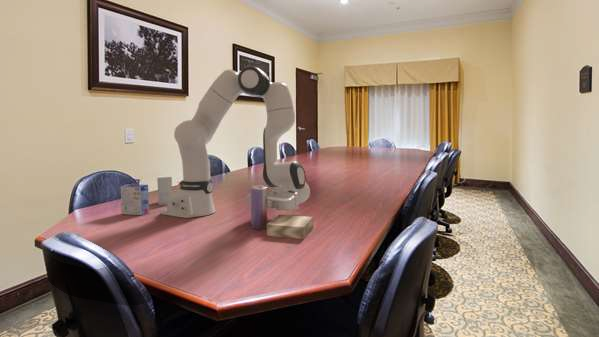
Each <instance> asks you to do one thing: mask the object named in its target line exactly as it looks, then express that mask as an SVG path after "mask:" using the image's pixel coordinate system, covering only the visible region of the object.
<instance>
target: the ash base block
mask: <svg viewBox="0 0 599 337" xmlns="http://www.w3.org/2000/svg"><path fill="white" fill-rule="evenodd" d="M313 229H314V217H313V216H304V215H288V214H287V215H286V214H279V215H277V216H276V217H274V218H273V219H271V221H269V222H267V226H266V236H268V237H276V238H278V237H279V238H287V239H300V240H304V239H305V238H306V237H307V236H308V235H309V234H310V232H311V231H312V230H313Z"/></svg>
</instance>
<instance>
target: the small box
mask: <svg viewBox="0 0 599 337" xmlns="http://www.w3.org/2000/svg"><path fill="white" fill-rule="evenodd" d="M156 178H157V180H156V182H157V202H158V206H167V201H168V199H169V198H170V197H171V196H172V195H173V182H172V181H173V180H172V174H164V175H163V174H160V175H157V176H156Z"/></svg>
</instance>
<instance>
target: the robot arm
mask: <svg viewBox="0 0 599 337" xmlns="http://www.w3.org/2000/svg"><path fill="white" fill-rule="evenodd" d="M242 94H245V95H249V97H255V98H262V99H263V102H264V105H265V111H266V118H267V119H266V125H265V126H264V129H263V131H262V132H263V133H262V146H263V147H262V148H263V150H262V151H263V169H262V180H263V182H264V183H265V185H266V186H267V187H268V188H269V187H270V188H272V189H271V190H270V193H269V192H268V202H267V208H270V209H275V210H277V211H292V210H298V208H299V205H300V204H303V203H304V202H306V201H307V199H309V197H310V194H311V190H310V186H309V185H308V183H307V182H306V171H305V169H304V166H302V164H301V163H300V162H298V161H296V160H295V161H286V162H278V149H277V148H278V141H279V139H280V138H281V137H282V136H283V135H285V134H286V133H287V132H289V131H290V130H291V129H292V127H293V126H294V124H295V122H296V121H295V120H296V115H295V109H294V102H293V99H292V95H291V92H290V89H289V87H288V85H287V84H286V83H283V82H282V81H281V82H280V81H275V82H272V81H271V78H270V77H269V75H268V74H267V73H266V72H265V71H264V70H263V69H260V68H259V67H256V66H253V65H252V66H251V65H250V66H249V65H248V66H246V67H244V68H242V69H241V70H240V72H239V73H238V71H236V70H234V69H233V70H232V69H225V70H223V71H222V73H220V75H218V76H217V78H215V80H213V82H212V84H211V85H210V87H209V88H207V91H206V92H205V93H204V95H203V97H202V98H201V100H200V101H199V103H198V107H197V109H196V112H195V114H194V115H193V118H192V119H190V120H189V119H187V120H183V121H182V122H181V123H179V124H178V125H177V126H176V127H175V129H174V134H173V135H174V139H175V142H176V143H177V145H178V150H179V153H180V157H181V163H182V177H183V179H182V180H181V181H178V182H177V186H180V187H179V189H178V190H177V191H175V192H174V193H172V196H171V197H170V198H169V199H168V201H167V205H166V207H165V208H164V209H162V210H161V212H160V213H161V214H160V215H164V216H171V217H176V218H177V217H178V218H184V219H190V218H194V217H195V218H196V217H202V216H203V217H204V216H210V215H213V214H214V213H216V208H215V204H214V200H213V199H214V198H213V194H212V192H213V181H212V178H211V161H210V159H209V156H208V151H207V146H206V145H208V143H209V142H211V141H212V139H213V137H214V135H215V133H216V131H217V129H218V128H219V126H220V124H221V122H222V120H223V118H224V117H225V116H226V114H227V113H228V111H229V110H230V108H231V107H232V106H233V104H234V103H235V101H236V100H237V98H238V97H239V96H240V95H242ZM246 204H249V205H251V193H248V194H247V195H246Z"/></svg>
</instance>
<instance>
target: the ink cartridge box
mask: <svg viewBox="0 0 599 337" xmlns="http://www.w3.org/2000/svg"><path fill="white" fill-rule="evenodd" d="M140 181H141V179H139V178H138V179H137V178H135V179H134V178H132V180H131V183H130V184H124V185H121V186H120V200H121V205H120V206H121V214H122V215H129V216H130V215H131V216H133V215H134V216H143V215H146V214H149V213H150V198H149V185H148V184H140Z"/></svg>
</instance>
